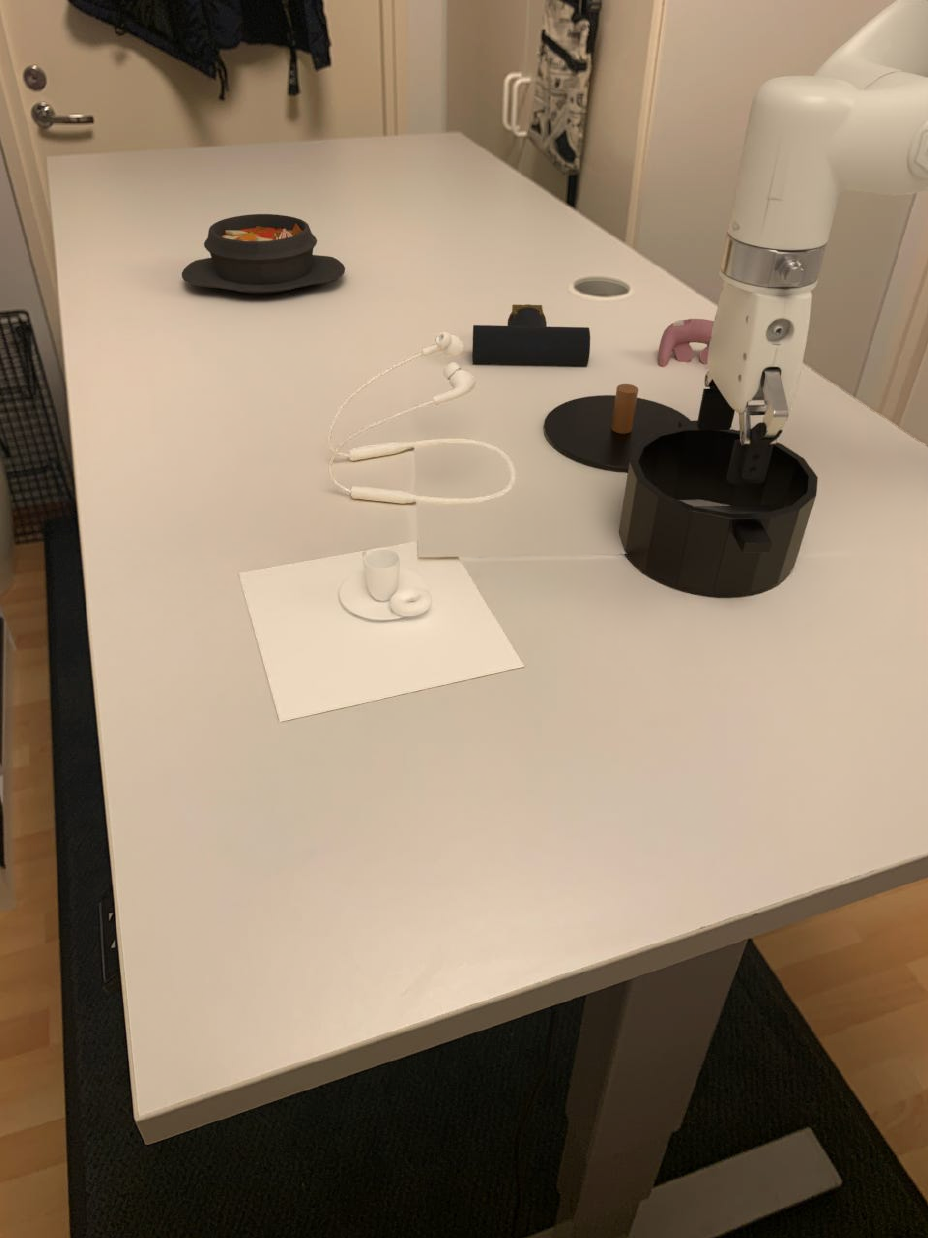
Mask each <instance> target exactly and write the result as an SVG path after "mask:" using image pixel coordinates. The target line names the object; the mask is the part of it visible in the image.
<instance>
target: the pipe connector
mask: <svg viewBox="0 0 928 1238" xmlns="http://www.w3.org/2000/svg"><path fill="white" fill-rule="evenodd" d="M547 323H548V322H547V319H546V315H545V313H544V309H543V305H542V304H529V303H528V304H512V308H511V312H510V314H509V315H508V319H507V325H493V324H491V325H490V324H473V325H472V348H471V349H472V351H471V352H472V355H471V357H472V358H471V359H472V365H488V366H489V365H490V366H491V365H492V366H535V367H537V366H539V367H540V366H541V367H588V364H589V360H590V353H591V352H590V351H591V330H590V327H587V326H586V327H585V326H547Z"/></svg>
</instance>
